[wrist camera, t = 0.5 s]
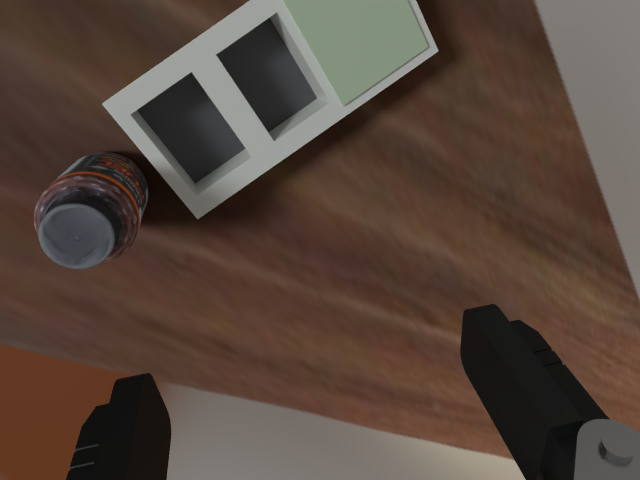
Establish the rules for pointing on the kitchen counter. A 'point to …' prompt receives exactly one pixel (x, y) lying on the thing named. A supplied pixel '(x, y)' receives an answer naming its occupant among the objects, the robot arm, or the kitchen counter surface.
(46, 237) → the supplement bottle
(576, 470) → the robot arm
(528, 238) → the kitchen counter surface
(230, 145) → the board
